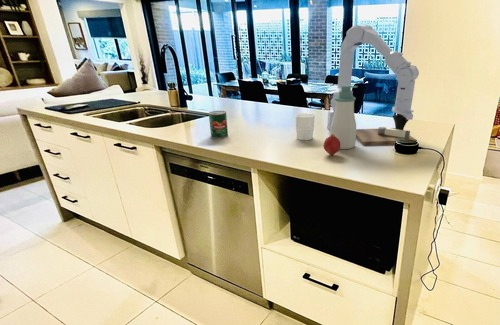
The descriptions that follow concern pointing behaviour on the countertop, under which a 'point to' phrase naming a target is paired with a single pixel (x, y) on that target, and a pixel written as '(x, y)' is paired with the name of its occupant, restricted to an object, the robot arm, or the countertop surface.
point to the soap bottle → (344, 118)
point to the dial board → (377, 137)
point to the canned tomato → (218, 124)
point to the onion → (332, 145)
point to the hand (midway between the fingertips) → (398, 133)
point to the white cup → (305, 126)
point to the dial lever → (393, 132)
